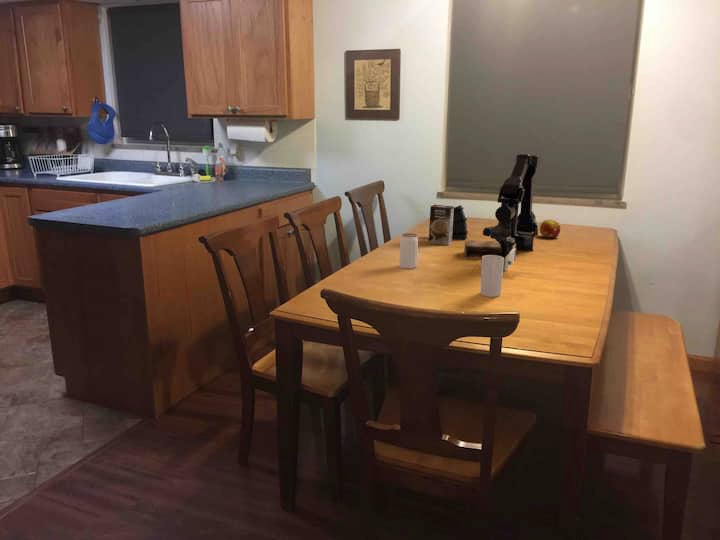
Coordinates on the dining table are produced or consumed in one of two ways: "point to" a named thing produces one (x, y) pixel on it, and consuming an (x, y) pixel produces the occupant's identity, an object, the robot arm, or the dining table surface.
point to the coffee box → (441, 224)
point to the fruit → (550, 228)
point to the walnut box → (482, 249)
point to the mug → (491, 275)
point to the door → (510, 259)
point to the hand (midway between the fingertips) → (504, 258)
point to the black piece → (459, 224)
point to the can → (408, 251)
